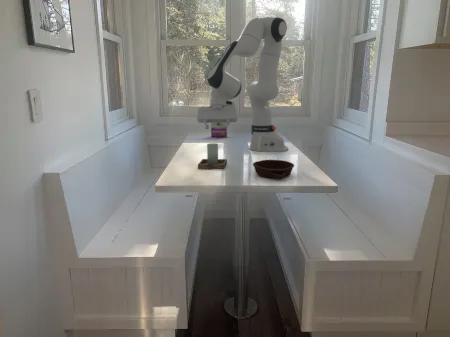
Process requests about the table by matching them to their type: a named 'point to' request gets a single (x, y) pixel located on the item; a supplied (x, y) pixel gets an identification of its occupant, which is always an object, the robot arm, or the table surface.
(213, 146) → the sage ceramic canister
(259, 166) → the dish
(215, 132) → the candy bar box
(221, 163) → the walnut tray
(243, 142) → the table surface
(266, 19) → the robot arm
